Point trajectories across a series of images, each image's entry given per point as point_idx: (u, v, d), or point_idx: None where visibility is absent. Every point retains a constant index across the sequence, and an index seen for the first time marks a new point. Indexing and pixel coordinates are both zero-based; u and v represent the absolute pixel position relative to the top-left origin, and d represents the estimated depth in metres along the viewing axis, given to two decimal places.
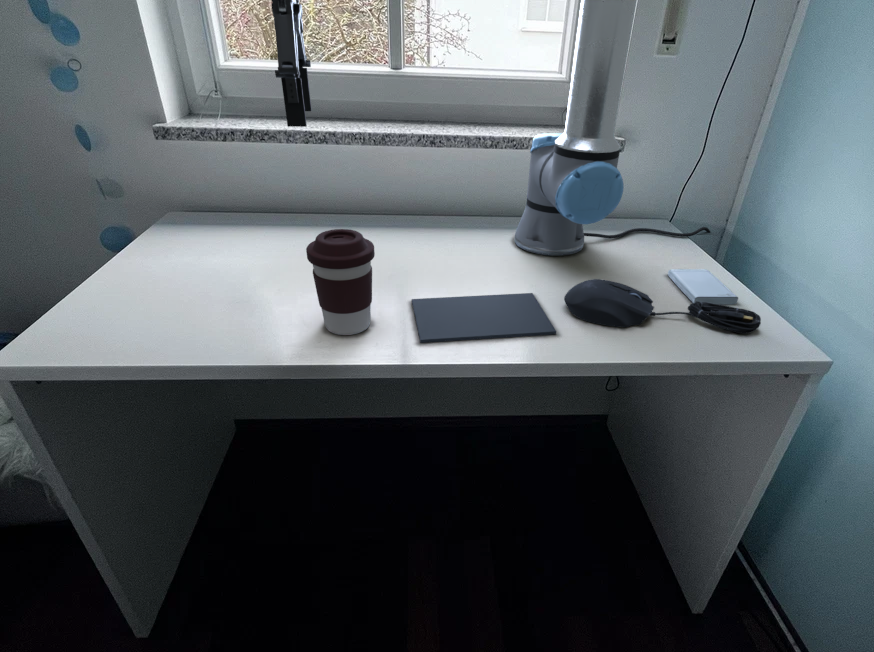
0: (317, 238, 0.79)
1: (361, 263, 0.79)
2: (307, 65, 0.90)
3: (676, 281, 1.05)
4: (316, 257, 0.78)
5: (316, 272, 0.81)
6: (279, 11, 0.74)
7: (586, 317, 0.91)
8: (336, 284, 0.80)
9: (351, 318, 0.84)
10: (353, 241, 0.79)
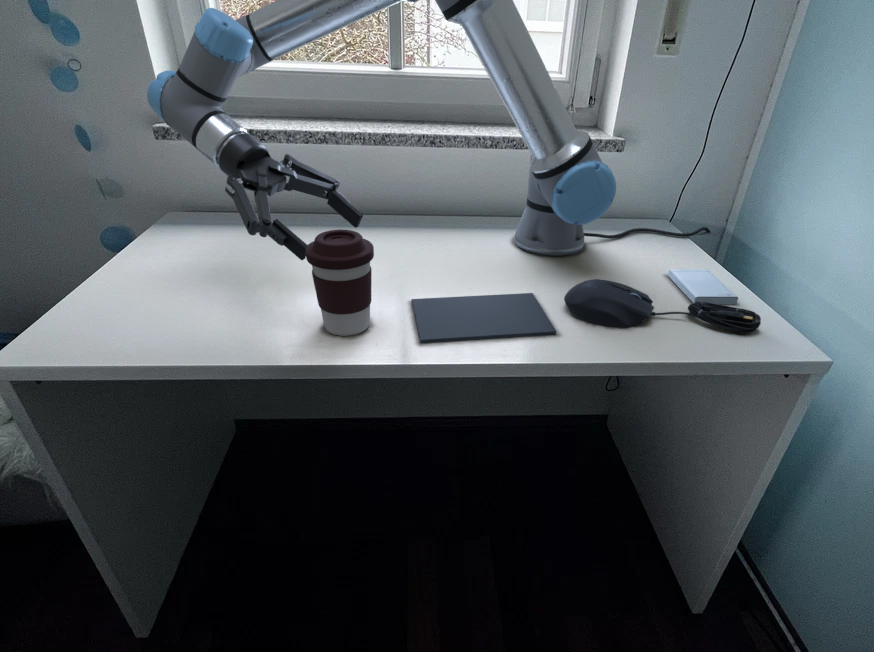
0: (316, 239, 0.79)
1: (361, 263, 0.79)
2: (333, 187, 0.92)
3: (676, 281, 1.05)
4: (316, 258, 0.78)
5: (315, 273, 0.80)
6: (232, 194, 0.84)
7: (586, 317, 0.91)
8: (336, 285, 0.80)
9: (351, 318, 0.84)
10: (353, 241, 0.79)
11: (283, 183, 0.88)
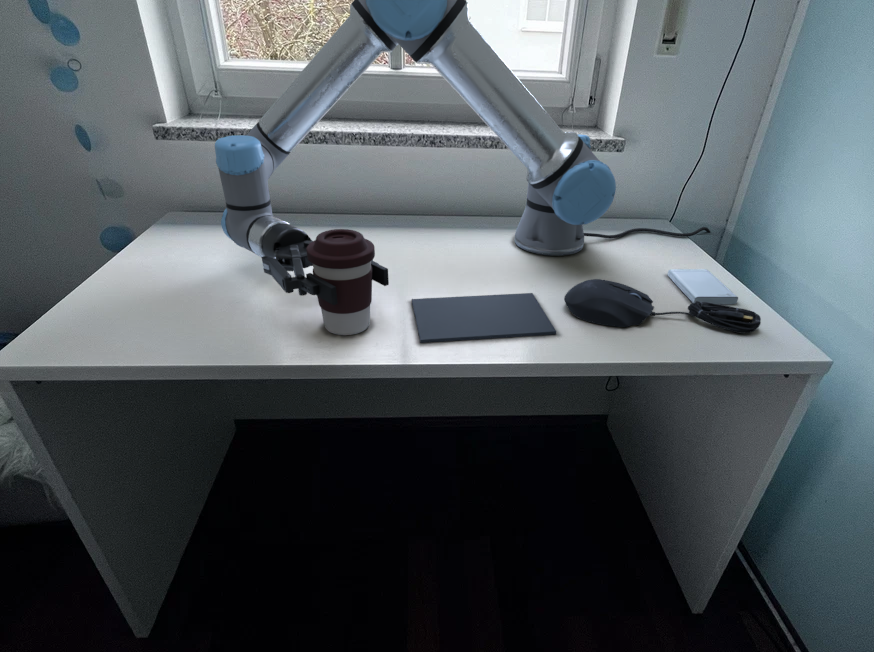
0: (317, 238, 0.79)
1: (362, 263, 0.79)
2: None
3: (676, 281, 1.05)
4: (317, 257, 0.78)
5: (316, 272, 0.80)
6: (269, 270, 0.86)
7: (586, 317, 0.91)
8: (337, 284, 0.80)
9: (352, 318, 0.84)
10: (354, 241, 0.79)
11: None
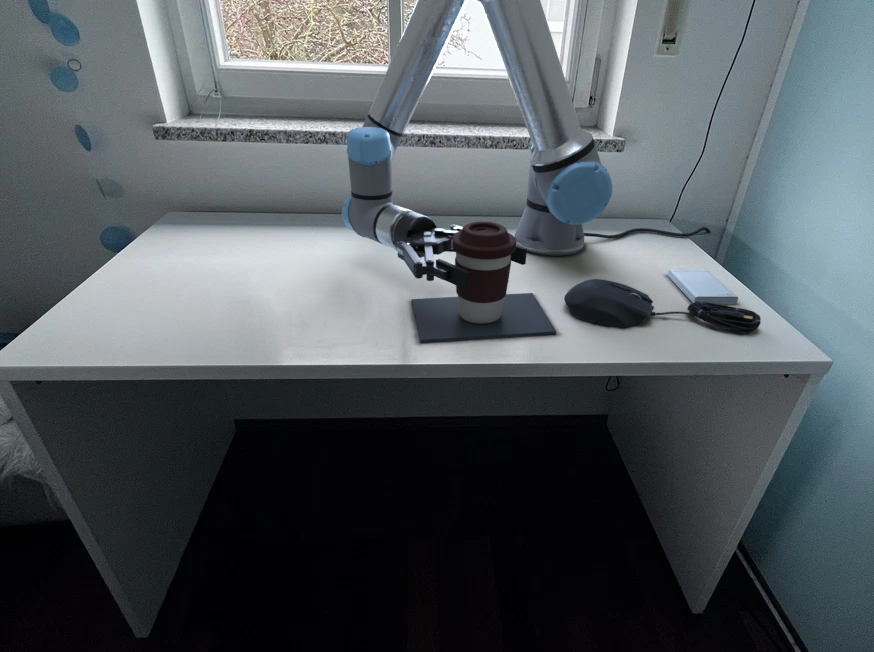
0: (465, 230, 0.82)
1: (509, 253, 0.82)
2: None
3: (676, 281, 1.05)
4: (468, 248, 0.81)
5: (462, 262, 0.84)
6: (403, 255, 0.89)
7: (586, 317, 0.91)
8: (484, 274, 0.83)
9: (491, 307, 0.87)
10: (501, 232, 0.82)
11: (448, 241, 0.92)
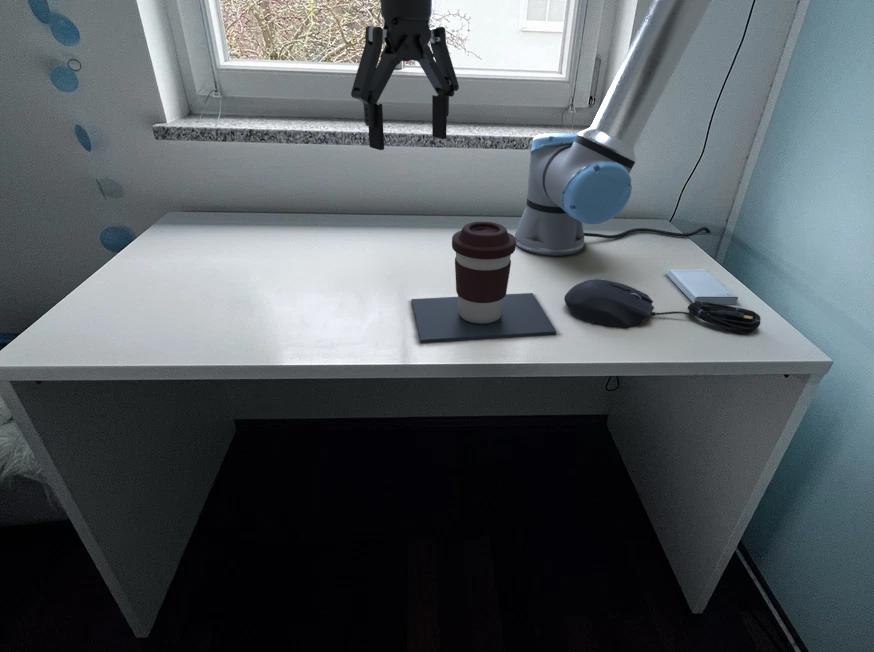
0: (465, 230, 0.82)
1: (509, 253, 0.82)
2: (448, 94, 0.90)
3: (676, 281, 1.05)
4: (468, 248, 0.81)
5: (462, 263, 0.84)
6: (369, 41, 0.78)
7: (586, 317, 0.91)
8: (484, 274, 0.83)
9: (491, 307, 0.87)
10: (501, 232, 0.82)
11: (415, 60, 0.84)
